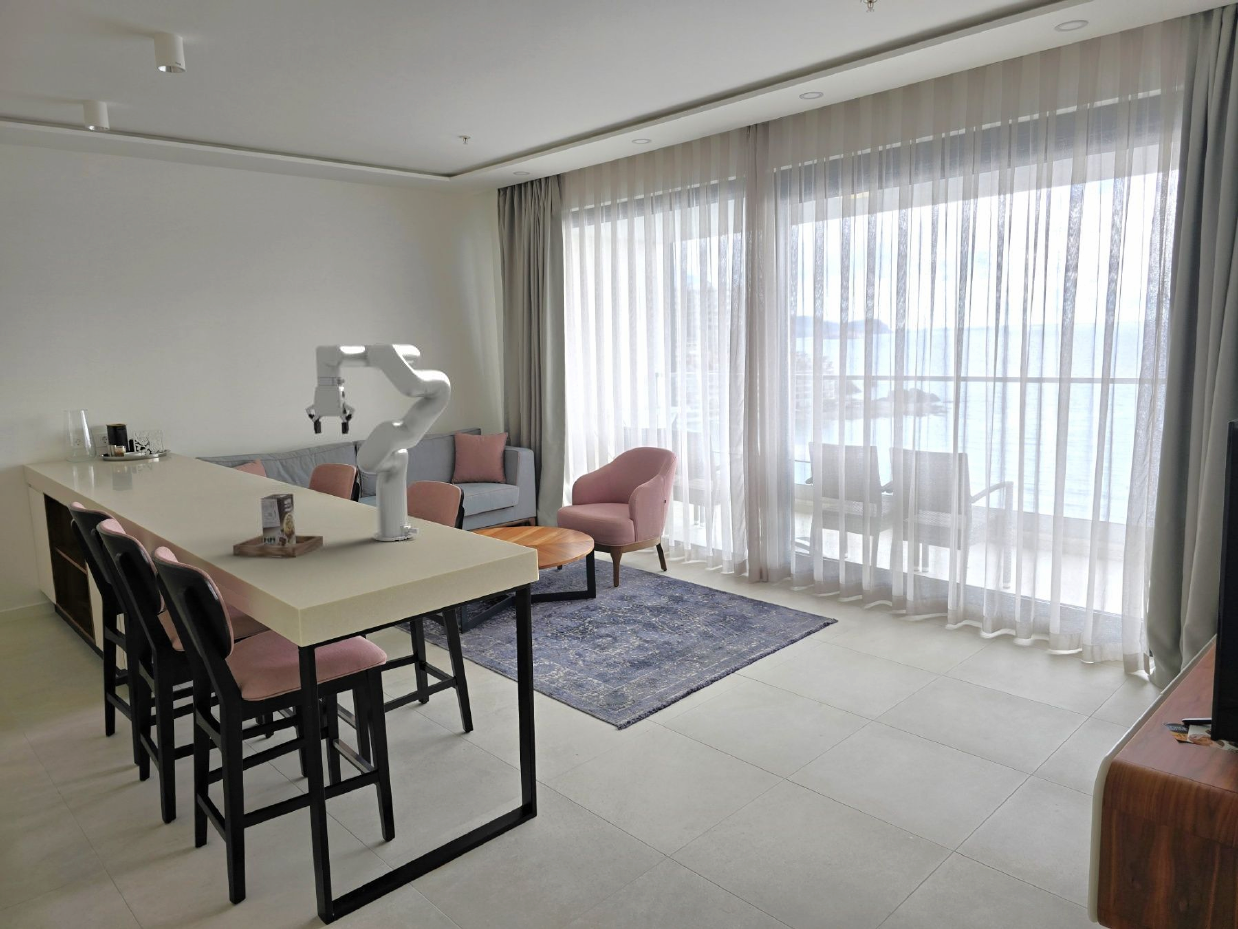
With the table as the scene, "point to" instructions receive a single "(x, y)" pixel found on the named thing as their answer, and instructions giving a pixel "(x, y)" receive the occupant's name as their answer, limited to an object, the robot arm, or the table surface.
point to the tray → (278, 547)
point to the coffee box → (278, 520)
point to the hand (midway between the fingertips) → (331, 433)
